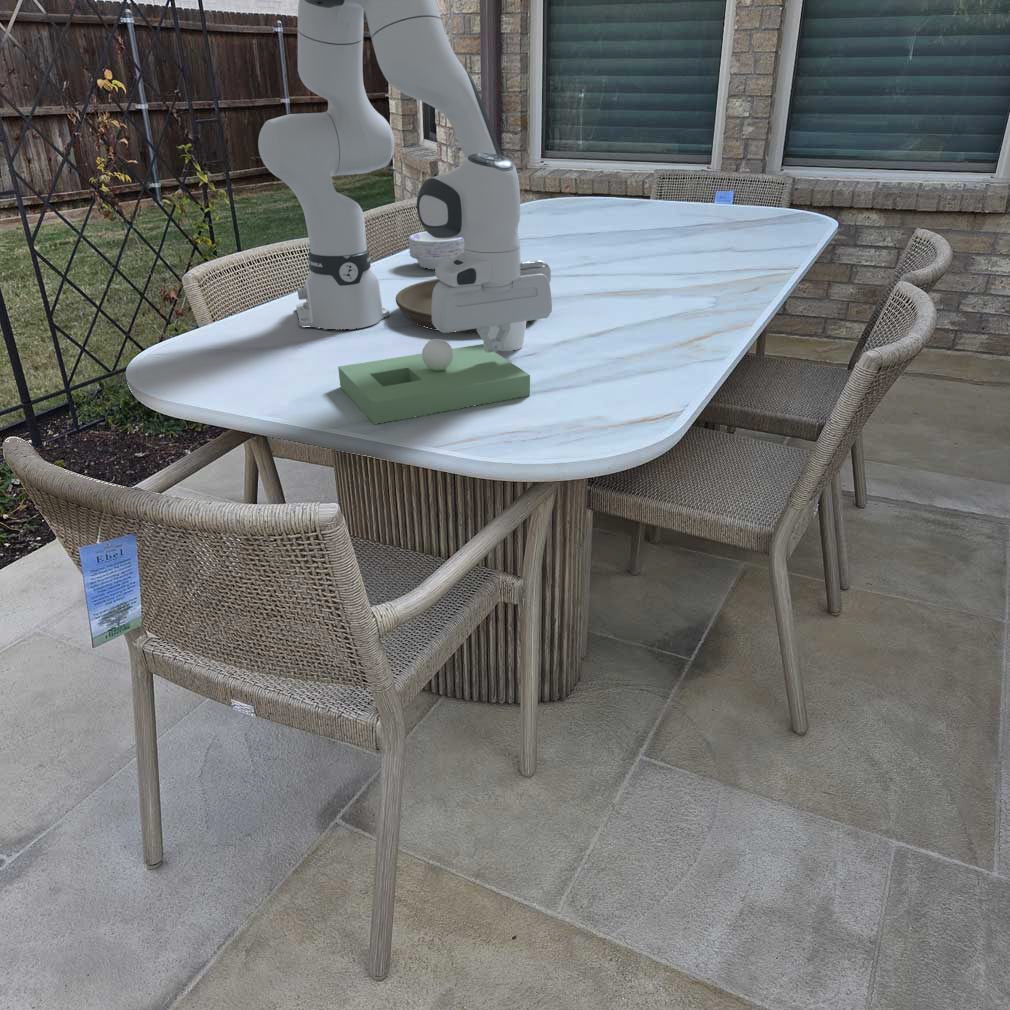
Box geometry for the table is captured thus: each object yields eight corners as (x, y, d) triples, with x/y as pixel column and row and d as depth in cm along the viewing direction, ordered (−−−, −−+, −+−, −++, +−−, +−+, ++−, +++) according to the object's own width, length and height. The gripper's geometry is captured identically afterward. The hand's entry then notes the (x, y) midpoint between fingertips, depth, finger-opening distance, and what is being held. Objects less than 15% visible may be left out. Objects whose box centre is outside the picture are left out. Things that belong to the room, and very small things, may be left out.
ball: (418, 367, 139) (416, 337, 137) (446, 363, 141) (445, 333, 138) (429, 376, 135) (427, 346, 133) (458, 372, 137) (457, 341, 135)
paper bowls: (402, 263, 222) (400, 232, 218) (456, 257, 227) (455, 227, 224) (422, 276, 210) (420, 242, 206) (479, 269, 215) (478, 237, 211)
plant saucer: (530, 341, 163) (530, 317, 161) (376, 332, 169) (374, 310, 167) (554, 299, 190) (555, 278, 188) (421, 293, 196) (420, 273, 193)
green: (340, 386, 141) (338, 366, 140) (482, 363, 151) (482, 344, 150) (374, 424, 127) (372, 402, 125) (529, 395, 137) (530, 374, 135)
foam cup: (530, 338, 164) (530, 269, 158) (533, 353, 156) (533, 281, 150) (480, 339, 164) (479, 270, 158) (481, 354, 156) (479, 282, 150)
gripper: (541, 255, 141) (540, 336, 147) (425, 268, 133) (429, 354, 140) (560, 262, 136) (558, 347, 142) (440, 277, 128) (444, 365, 135)
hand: (493, 350), depth 141 cm, fingers closed
